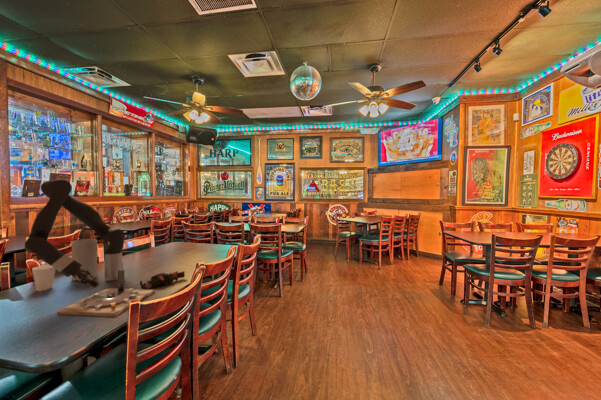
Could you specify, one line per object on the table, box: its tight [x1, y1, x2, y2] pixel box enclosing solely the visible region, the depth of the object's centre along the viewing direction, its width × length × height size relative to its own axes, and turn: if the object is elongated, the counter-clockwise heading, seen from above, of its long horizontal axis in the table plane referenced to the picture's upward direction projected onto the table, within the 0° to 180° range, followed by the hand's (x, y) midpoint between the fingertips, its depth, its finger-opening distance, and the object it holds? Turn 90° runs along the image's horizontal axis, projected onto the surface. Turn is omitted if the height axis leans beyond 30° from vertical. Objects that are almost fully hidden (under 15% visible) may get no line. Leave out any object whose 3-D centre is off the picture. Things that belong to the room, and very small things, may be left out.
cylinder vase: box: [71, 238, 98, 282], centre depth 160 cm, size 12×12×25 cm
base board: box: [56, 287, 155, 318], centre depth 126 cm, size 28×28×3 cm
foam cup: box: [31, 264, 57, 292], centre depth 142 cm, size 10×9×13 cm
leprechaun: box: [139, 270, 185, 290], centre depth 153 cm, size 11×10×25 cm
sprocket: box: [80, 269, 138, 310], centre depth 126 cm, size 24×24×12 cm
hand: (97, 285), depth 130 cm, fingers closed
